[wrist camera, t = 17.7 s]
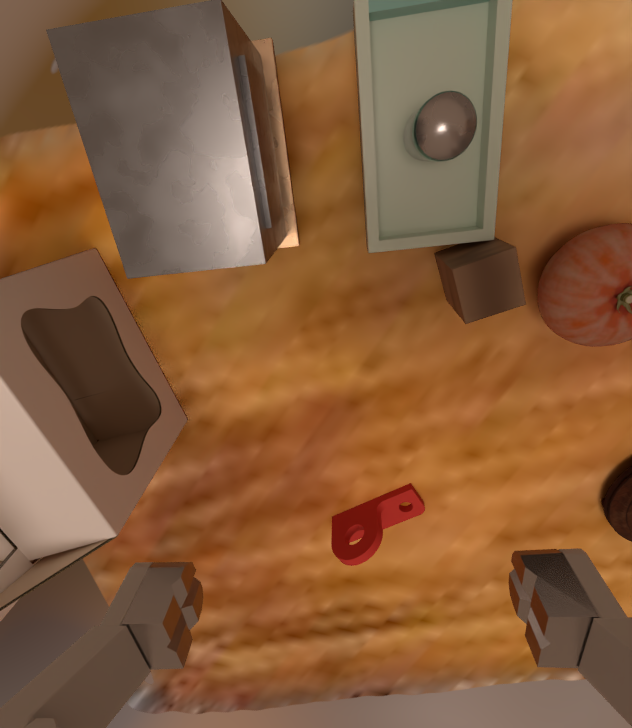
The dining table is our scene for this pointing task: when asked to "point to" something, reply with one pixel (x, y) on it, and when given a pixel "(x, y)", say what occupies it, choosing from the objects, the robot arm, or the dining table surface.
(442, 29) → the tray
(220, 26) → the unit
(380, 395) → the dining table surface
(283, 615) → the dining table surface
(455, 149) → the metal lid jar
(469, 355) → the dining table surface
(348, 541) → the bracket
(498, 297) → the walnut block
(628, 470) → the dark statuette
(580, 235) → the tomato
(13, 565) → the gable box
